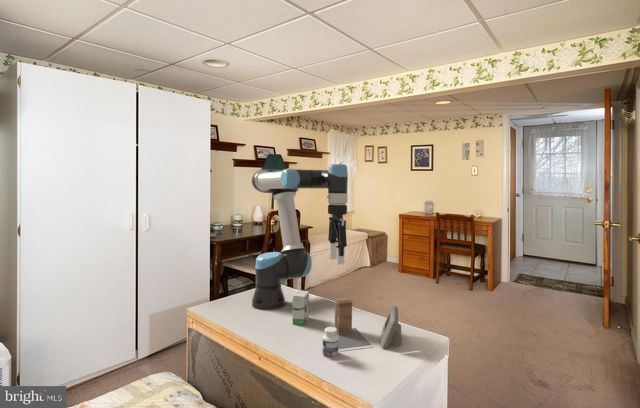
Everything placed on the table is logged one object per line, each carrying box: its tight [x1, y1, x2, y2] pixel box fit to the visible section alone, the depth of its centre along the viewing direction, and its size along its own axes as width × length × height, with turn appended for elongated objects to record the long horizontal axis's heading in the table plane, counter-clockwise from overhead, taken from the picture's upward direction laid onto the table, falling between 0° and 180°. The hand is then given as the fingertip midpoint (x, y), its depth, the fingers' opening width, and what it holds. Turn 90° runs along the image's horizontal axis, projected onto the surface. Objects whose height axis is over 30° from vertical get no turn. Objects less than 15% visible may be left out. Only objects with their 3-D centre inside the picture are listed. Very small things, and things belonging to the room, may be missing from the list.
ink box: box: [292, 289, 310, 326], centre depth 145 cm, size 9×5×12 cm, turn 168°
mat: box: [337, 327, 374, 352], centre depth 129 cm, size 17×12×1 cm
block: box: [334, 297, 353, 335], centre depth 135 cm, size 5×5×12 cm
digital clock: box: [380, 305, 402, 350], centre depth 128 cm, size 16×9×11 cm, turn 156°
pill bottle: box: [322, 326, 340, 359], centre depth 117 cm, size 5×5×9 cm
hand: (336, 261), depth 142 cm, fingers open, 8 cm apart
